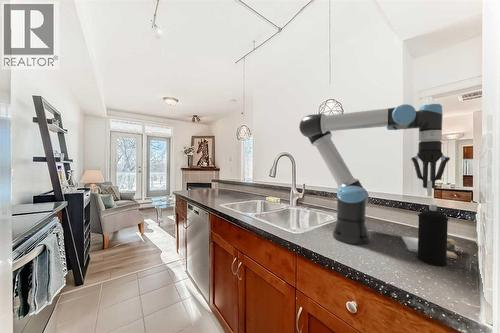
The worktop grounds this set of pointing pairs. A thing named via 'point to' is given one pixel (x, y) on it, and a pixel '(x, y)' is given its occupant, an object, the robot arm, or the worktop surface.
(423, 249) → the aerosol can
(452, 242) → the brass swing stop
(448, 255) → the door leaf
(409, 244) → the jamb plate
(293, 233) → the worktop surface
